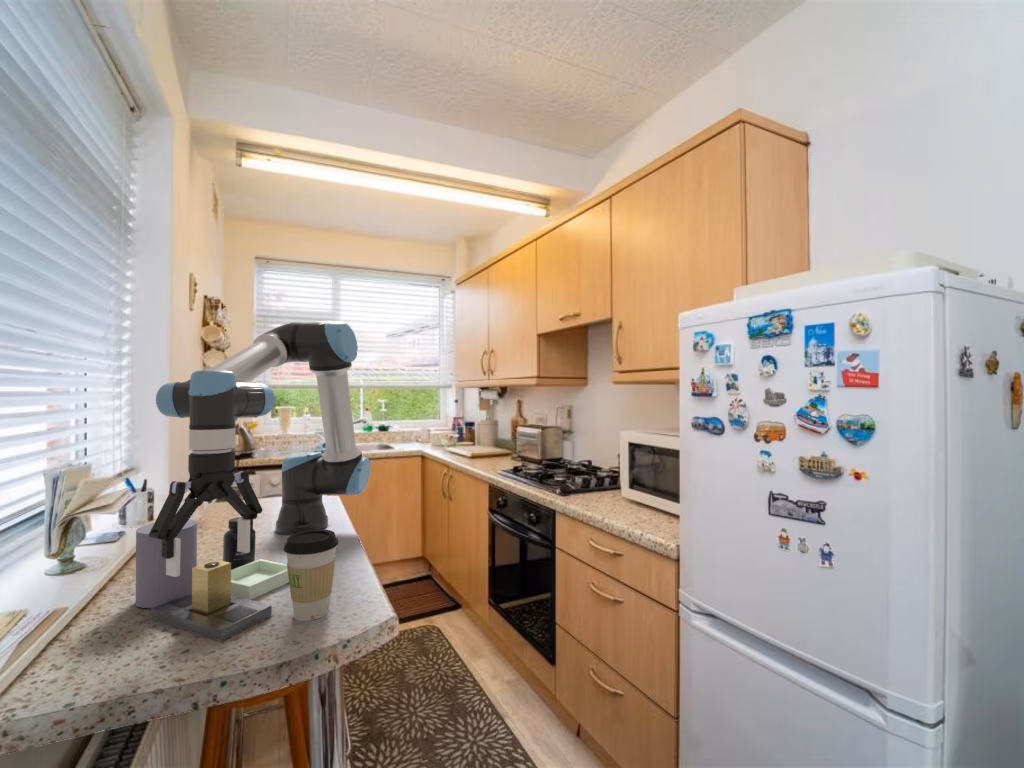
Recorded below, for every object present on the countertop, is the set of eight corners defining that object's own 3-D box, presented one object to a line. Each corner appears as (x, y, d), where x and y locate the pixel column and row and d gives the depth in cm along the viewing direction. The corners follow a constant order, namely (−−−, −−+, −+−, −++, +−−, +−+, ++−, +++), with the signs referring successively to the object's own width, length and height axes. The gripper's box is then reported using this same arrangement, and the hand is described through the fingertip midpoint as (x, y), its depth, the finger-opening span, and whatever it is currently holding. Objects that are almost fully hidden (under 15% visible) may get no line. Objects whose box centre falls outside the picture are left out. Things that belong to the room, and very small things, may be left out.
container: (205, 586, 104) (206, 518, 104) (181, 607, 94) (181, 532, 94) (153, 589, 102) (154, 520, 103) (123, 611, 92) (123, 535, 92)
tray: (260, 570, 113) (260, 558, 113) (297, 578, 108) (297, 566, 108) (211, 590, 102) (211, 577, 102) (249, 600, 97) (249, 586, 97)
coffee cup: (298, 601, 96) (299, 528, 97) (346, 602, 96) (346, 528, 96) (272, 625, 87) (273, 544, 87) (325, 626, 86) (325, 544, 86)
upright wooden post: (215, 610, 93) (215, 558, 93) (230, 614, 91) (231, 561, 91) (191, 620, 88) (192, 566, 89) (207, 625, 87) (208, 570, 87)
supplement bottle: (240, 575, 110) (240, 523, 110) (215, 572, 112) (216, 522, 112) (261, 564, 117) (261, 516, 117) (238, 562, 118) (238, 514, 118)
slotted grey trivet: (203, 597, 98) (203, 587, 98) (271, 615, 90) (271, 604, 90) (150, 619, 89) (150, 608, 89) (221, 641, 81) (221, 629, 81)
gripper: (256, 443, 103) (255, 541, 102) (125, 457, 80) (123, 583, 80) (281, 445, 100) (280, 545, 99) (152, 460, 77) (150, 590, 77)
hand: (210, 562), depth 89 cm, fingers open, 13 cm apart
